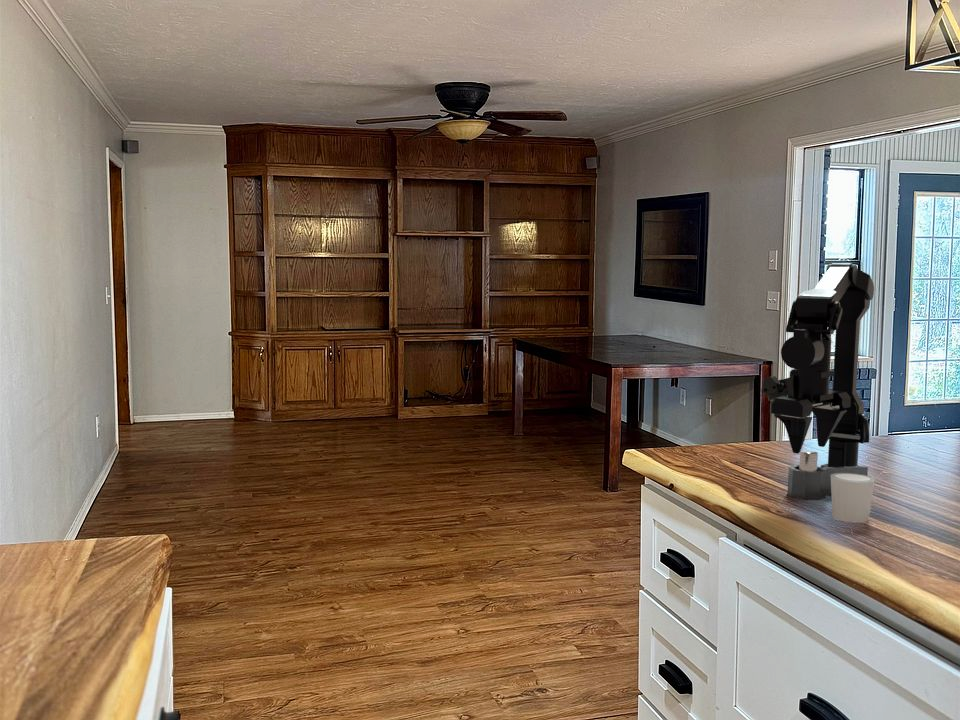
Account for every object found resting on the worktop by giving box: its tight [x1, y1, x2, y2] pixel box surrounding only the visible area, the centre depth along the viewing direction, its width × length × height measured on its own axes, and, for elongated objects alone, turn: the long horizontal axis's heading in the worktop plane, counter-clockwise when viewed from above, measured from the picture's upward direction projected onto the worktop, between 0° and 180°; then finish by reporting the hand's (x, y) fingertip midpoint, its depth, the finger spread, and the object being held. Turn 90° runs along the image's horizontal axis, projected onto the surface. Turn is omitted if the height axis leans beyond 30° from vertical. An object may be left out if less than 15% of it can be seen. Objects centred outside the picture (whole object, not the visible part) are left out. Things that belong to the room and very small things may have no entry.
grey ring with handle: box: [787, 464, 869, 501], centre depth 163 cm, size 14×13×5 cm
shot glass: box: [830, 473, 876, 524], centre depth 146 cm, size 7×7×7 cm
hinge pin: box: [798, 450, 819, 472], centre depth 160 cm, size 3×3×8 cm
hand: (808, 449), depth 159 cm, fingers open, 9 cm apart
